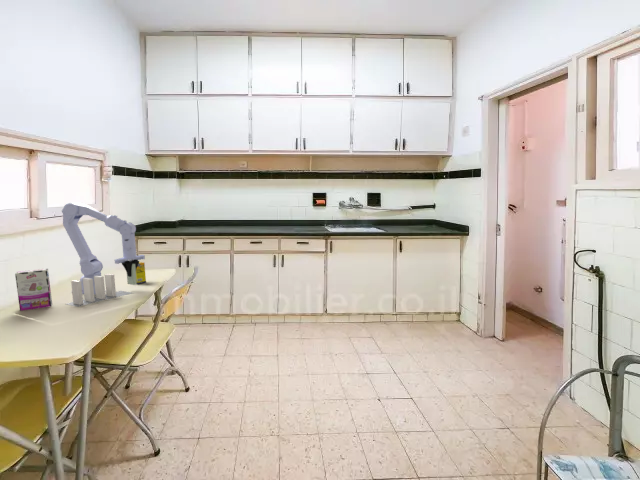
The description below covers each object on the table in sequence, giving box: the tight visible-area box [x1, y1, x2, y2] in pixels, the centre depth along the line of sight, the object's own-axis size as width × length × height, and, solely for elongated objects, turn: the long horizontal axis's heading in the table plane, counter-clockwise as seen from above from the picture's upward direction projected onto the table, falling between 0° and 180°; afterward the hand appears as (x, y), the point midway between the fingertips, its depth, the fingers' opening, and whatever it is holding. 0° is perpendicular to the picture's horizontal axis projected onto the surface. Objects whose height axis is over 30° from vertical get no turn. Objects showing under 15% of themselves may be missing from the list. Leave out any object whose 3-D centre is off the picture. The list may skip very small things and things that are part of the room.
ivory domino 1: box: [70, 279, 84, 305], centre depth 180 cm, size 2×5×10 cm, turn 58°
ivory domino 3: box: [94, 275, 106, 299], centre depth 188 cm, size 2×5×10 cm, turn 58°
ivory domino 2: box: [83, 278, 95, 302], centre depth 184 cm, size 2×5×10 cm, turn 58°
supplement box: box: [136, 261, 147, 285], centre depth 221 cm, size 6×6×11 cm
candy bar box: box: [14, 268, 53, 312], centre depth 176 cm, size 11×5×16 cm, turn 117°
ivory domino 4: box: [104, 273, 117, 297], centre depth 192 cm, size 2×5×10 cm, turn 58°
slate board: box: [66, 290, 133, 308], centre depth 189 cm, size 26×10×1 cm, turn 148°
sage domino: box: [126, 264, 138, 286], centre depth 201 cm, size 2×5×10 cm, turn 57°
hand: (131, 276), depth 201 cm, fingers closed on sage domino, 1 cm apart
